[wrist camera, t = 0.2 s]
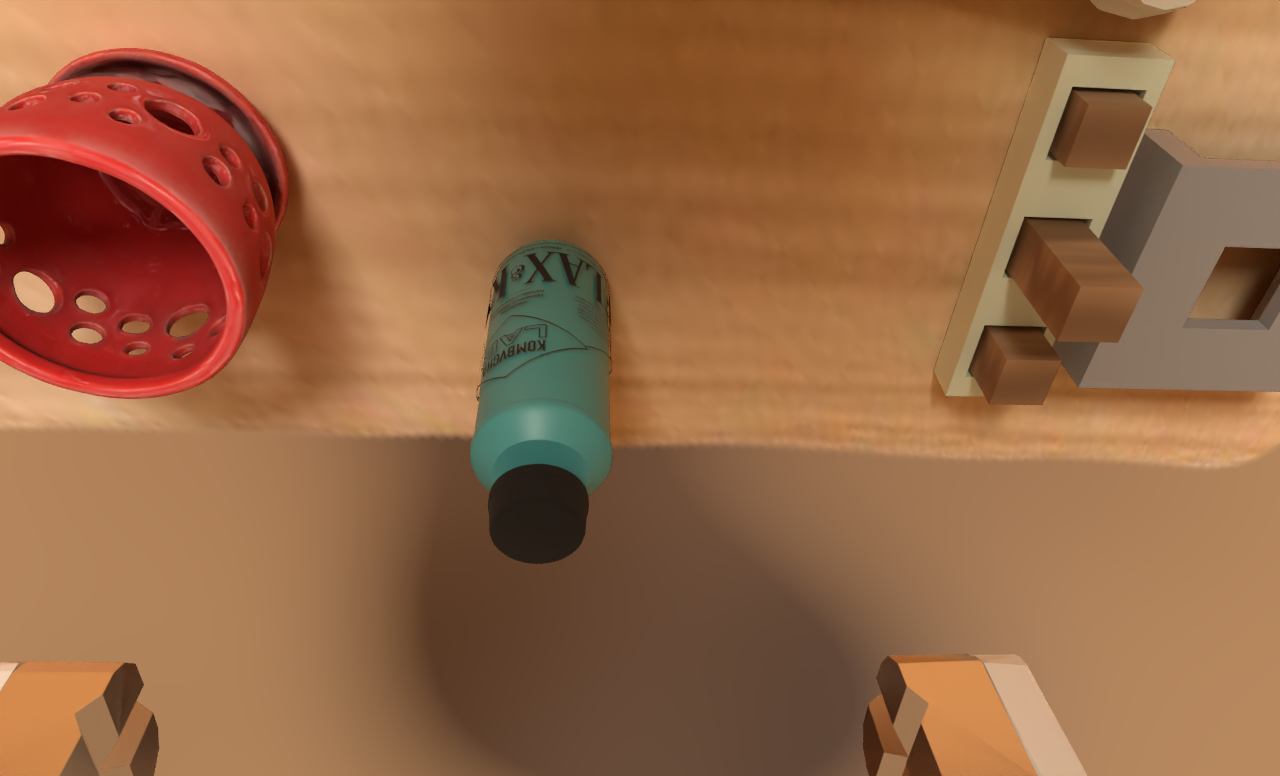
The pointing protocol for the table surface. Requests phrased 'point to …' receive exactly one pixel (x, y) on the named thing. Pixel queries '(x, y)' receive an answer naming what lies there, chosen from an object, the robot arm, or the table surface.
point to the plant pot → (135, 221)
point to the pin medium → (1014, 365)
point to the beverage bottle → (544, 400)
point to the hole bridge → (1186, 274)
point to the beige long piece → (1140, 7)
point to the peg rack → (1042, 189)
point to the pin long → (1073, 280)
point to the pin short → (1099, 128)
